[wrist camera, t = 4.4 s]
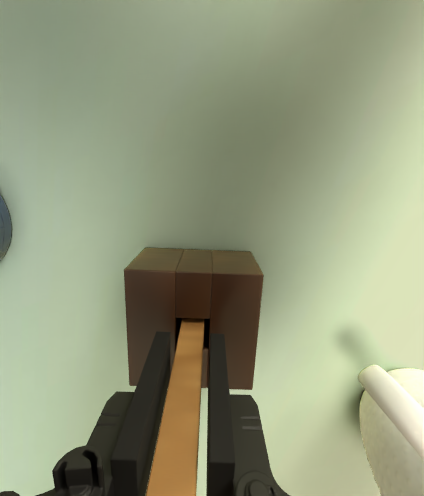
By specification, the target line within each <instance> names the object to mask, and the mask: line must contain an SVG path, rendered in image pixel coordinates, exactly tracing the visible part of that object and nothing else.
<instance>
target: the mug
mask: <svg viewBox="0 0 424 496" xmlns="http://www.w3.org/2000/svg"><path fill="white" fill-rule="evenodd" d="M358 380H359V382H360V383H361V384H362V386H363V387H364V388H365V390H364V392H363V395H362V397H361V401H360V409H359V419H360V427H361V436H362V438H363V445H364V448H365V450H366V454H367V459H368V461H369V464H370V466H371V469H372V473H373V475H374V479H375V481H376V483H377V485H378V487H379V490H380V494H381V496H424V371H422V370H418V369H410V368H401V369H395V370H391V371H388V372H386V371H384V370H383V369H382V368H381V367H380V366H378V365H371V366H368V367H366V368H365V369H363V370H362V371H361V372H360V374H359V376H358Z"/></svg>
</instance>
